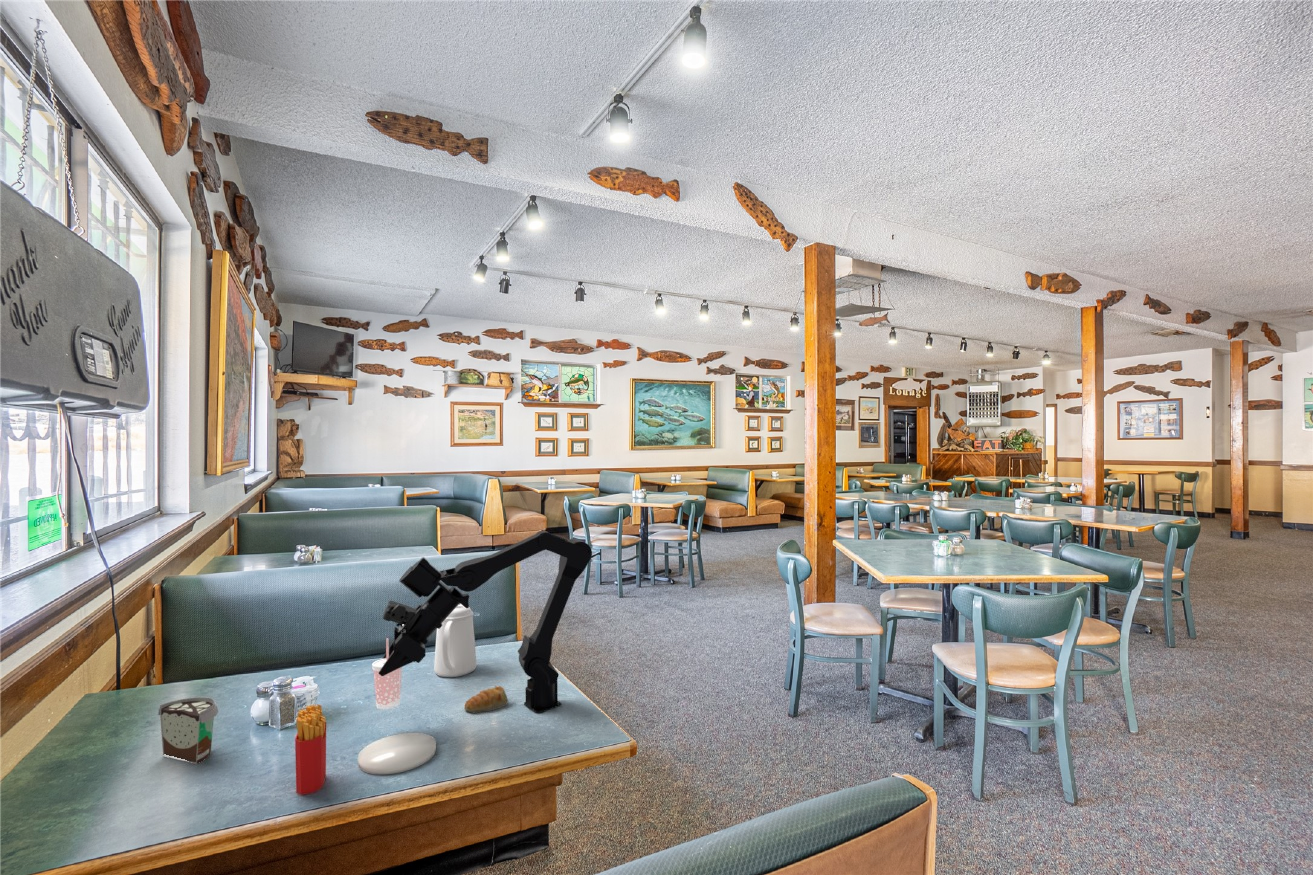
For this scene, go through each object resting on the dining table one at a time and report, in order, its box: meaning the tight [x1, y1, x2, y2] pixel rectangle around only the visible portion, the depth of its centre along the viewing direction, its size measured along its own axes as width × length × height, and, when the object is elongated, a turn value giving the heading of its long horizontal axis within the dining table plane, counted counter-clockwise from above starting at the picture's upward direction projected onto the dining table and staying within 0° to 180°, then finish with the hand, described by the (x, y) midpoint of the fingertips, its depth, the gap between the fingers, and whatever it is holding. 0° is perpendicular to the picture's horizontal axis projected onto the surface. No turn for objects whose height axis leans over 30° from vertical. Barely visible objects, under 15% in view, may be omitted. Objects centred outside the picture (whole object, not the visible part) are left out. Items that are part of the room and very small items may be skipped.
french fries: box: [294, 703, 327, 796], centre depth 112 cm, size 9×4×13 cm, turn 20°
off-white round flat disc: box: [357, 732, 437, 775], centre depth 121 cm, size 14×14×1 cm
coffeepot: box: [433, 604, 477, 678], centre depth 168 cm, size 11×25×19 cm, turn 6°
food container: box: [157, 696, 219, 765], centre depth 123 cm, size 12×6×10 cm, turn 71°
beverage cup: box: [371, 637, 403, 710], centre depth 132 cm, size 6×6×14 cm
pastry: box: [463, 685, 509, 714], centre depth 144 cm, size 9×7×4 cm
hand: (380, 669), depth 131 cm, fingers closed on beverage cup, 6 cm apart
